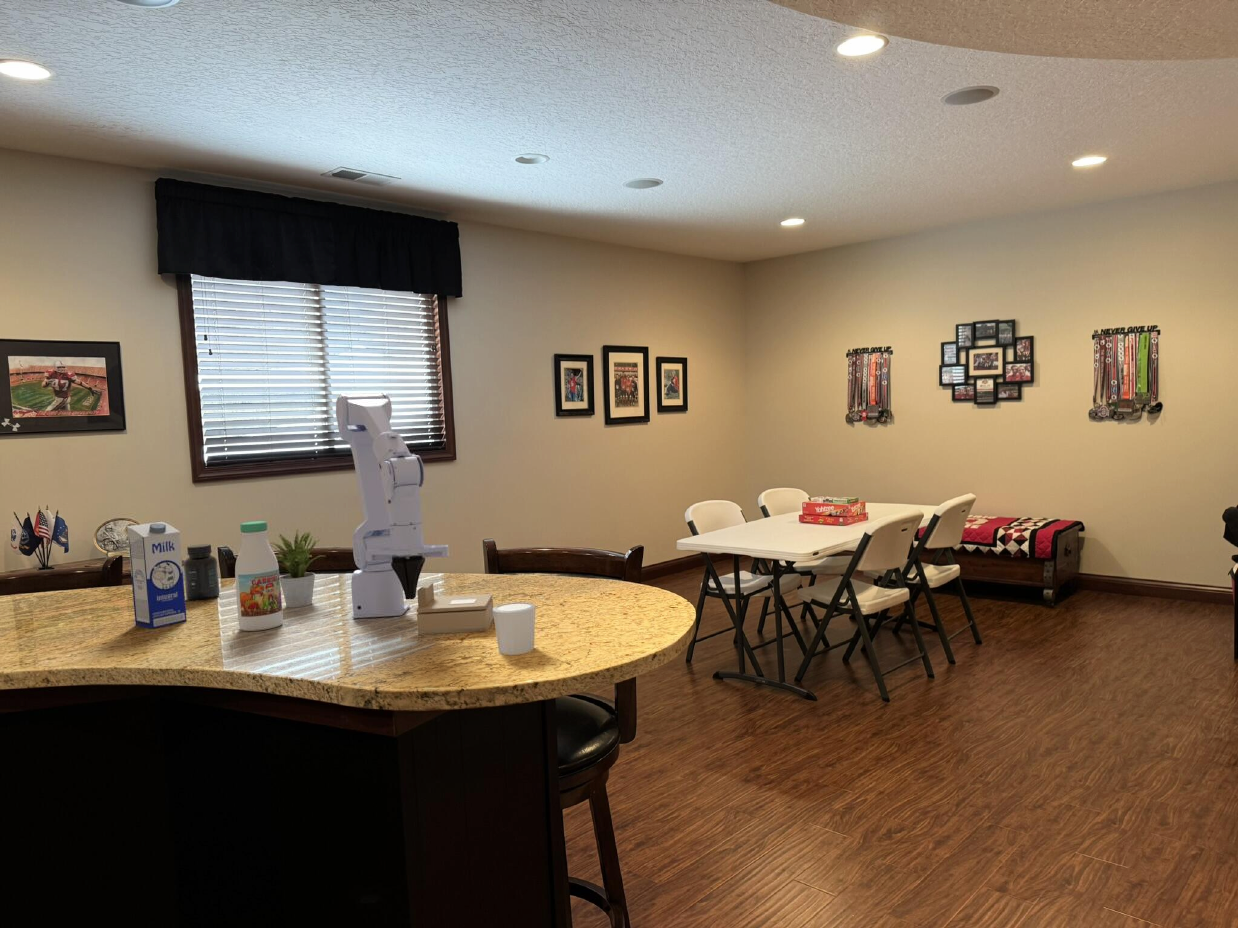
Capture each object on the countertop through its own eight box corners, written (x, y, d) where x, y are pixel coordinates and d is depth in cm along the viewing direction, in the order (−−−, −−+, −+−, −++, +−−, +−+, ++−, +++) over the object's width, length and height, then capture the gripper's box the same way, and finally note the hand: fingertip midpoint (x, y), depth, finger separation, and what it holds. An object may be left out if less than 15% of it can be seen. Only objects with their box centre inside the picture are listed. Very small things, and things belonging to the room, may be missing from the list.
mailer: (418, 634, 146) (416, 614, 146) (429, 620, 156) (428, 601, 156) (486, 630, 146) (485, 610, 146) (493, 617, 156) (492, 598, 156)
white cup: (501, 658, 129) (498, 613, 128) (490, 648, 135) (487, 605, 135) (543, 651, 132) (541, 607, 131) (530, 641, 138) (528, 599, 137)
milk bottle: (229, 631, 156) (221, 525, 155) (260, 620, 163) (252, 519, 162) (262, 632, 153) (254, 525, 152) (292, 622, 160) (284, 519, 159)
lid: (416, 612, 146) (415, 592, 146) (428, 600, 156) (427, 581, 155) (485, 609, 146) (484, 588, 146) (492, 596, 156) (491, 577, 156)
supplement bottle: (179, 601, 187) (175, 548, 187) (202, 594, 194) (198, 543, 193) (203, 601, 185) (199, 548, 185) (226, 594, 192) (222, 543, 191)
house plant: (281, 597, 186) (276, 524, 185) (343, 594, 185) (338, 521, 184) (251, 612, 171) (245, 533, 170) (318, 609, 171) (312, 530, 170)
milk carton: (170, 617, 171) (162, 520, 169) (187, 620, 167) (179, 521, 166) (134, 625, 165) (125, 525, 164) (151, 629, 161) (142, 526, 160)
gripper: (359, 528, 146) (364, 605, 146) (442, 524, 146) (446, 600, 147) (370, 523, 153) (375, 596, 153) (449, 519, 153) (454, 592, 154)
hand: (410, 598), depth 151 cm, fingers closed
